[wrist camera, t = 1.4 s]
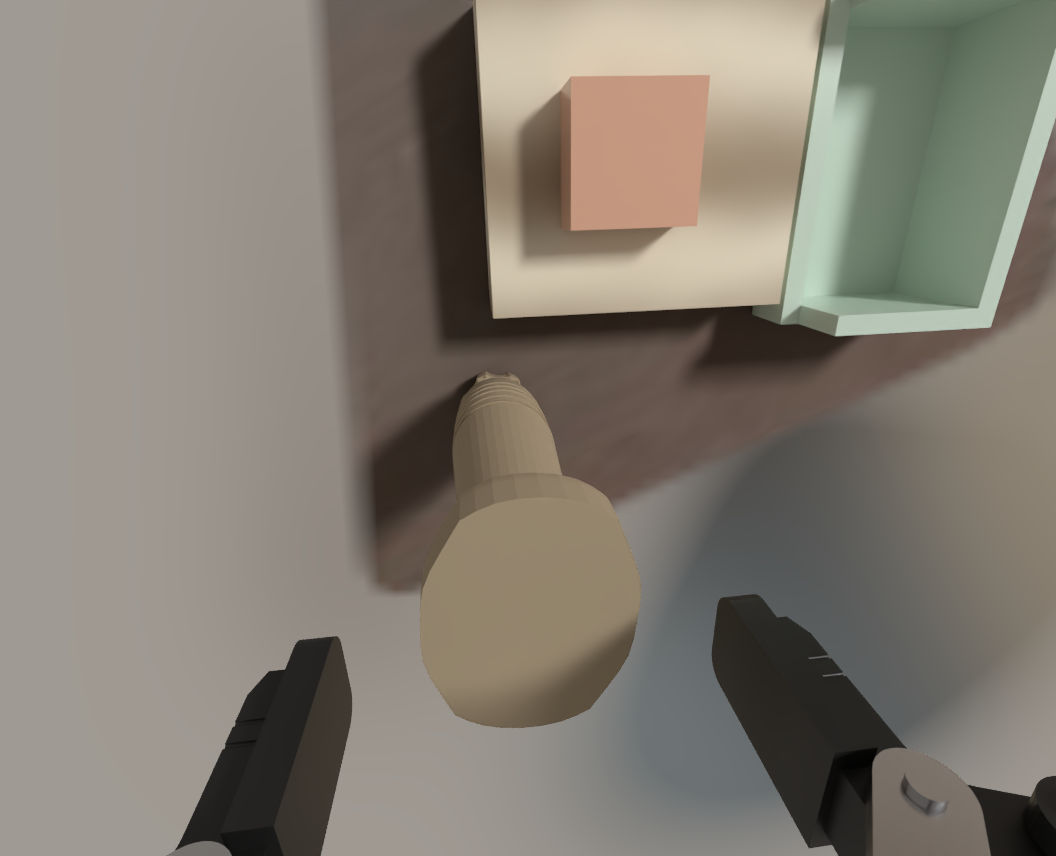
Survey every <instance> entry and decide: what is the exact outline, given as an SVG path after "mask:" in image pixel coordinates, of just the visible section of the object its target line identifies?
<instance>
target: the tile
mask: <svg viewBox="0 0 1056 856" xmlns="http://www.w3.org/2000/svg"><path fill="white" fill-rule="evenodd" d="M709 82H710V75H662V76H571V77H570V78H569V80H568V81H567V82H566V83H565V85H564V86H563V87H562V89H561V90H560V133H561V229H564V230H569V231H578V230H605V229H632V228H659V227H687V226H697V219H698V208H699V196H700V185H701V173H702V162H703V150H704V139H705V127H706V116H707V105H708V93H709Z"/></svg>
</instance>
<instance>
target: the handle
mask: <svg viewBox="0 0 1056 856" xmlns="http://www.w3.org/2000/svg"><path fill="white" fill-rule="evenodd" d="M452 455H453V467H454V479H455V491H456V503H455V504H454V506H453V507H452V509H451V511H450V512H449V514H448V516H447V517H446V519H445V521H444V522H443V524H442V526H441V528H440V530H439V532H438V534H437V536H436V538H435V540H434V542H433V544H432V546H431V549H430V551H429V553H428V555H427V557H426V560H425V563H424V570H423V577H422V586H421V605H420V639H421V640H420V642H421V651H422V658H423V663H424V665H425V667H426V670H427V672H428V674H429V676H430V678H431V680H432V681H433V683H434V684H435V686H436V688H437V689H438V691H439V692H440V694H441V695H442V697H443V698H444V699H445V701H446V703H447V704H448V705H449V707H450V708H451V710H452V711H453V713H454V714H455V715H456V716H459V717H461V718H463V719H465V720H468V721H471V722H474V723H477V724H481V725H485V726H493V727H501V728H524V727H532V726H533V727H534V726H543V725H547V724H552V723H556V722H560V721H563V720H566V719H569V718H571V717H574V716H576V715H578V714H580V713H582V712H584V711H586V710H588V709H590V708H591V707H592V705H593V704H594V703H595V701H596V700H597V699H598V698H599V697H600V695H601V694H602V693H603V691H604V690H605V689H606V688H607V686H608V685H609V684H610V682H611V681H612V680H613V678H614V677H615V676H616V674H617V673H618V672H619V670H620V669H621V667H622V665H623V664H624V662H625V660H626V659H627V657H628V655H629V652H630V649H631V646H632V643H633V639H634V634H635V629H636V624H637V618H638V613H639V607H640V598H641V583H640V578H639V573H638V568H637V566H636V563H635V560H634V557H633V555H632V552H631V549H630V547H629V544H628V542H627V539H626V537H625V534H624V532H623V529H622V527H621V524H620V522H619V519H618V517H617V515H616V513H615V511H614V509H613V507H612V506H611V504H610V502H609V500H608V498H607V497H606V496H605V495H604V494H602V493H601V492H600V491H598V490H597V489H595V488H594V487H592V486H590V485H588V484H586V483H584V482H582V481H580V480H578V479H575V478H571V477H566V476H562V474H561V470H560V465H559V461H558V457H557V453H556V448H555V444H554V440H553V436H552V433H551V431H550V428H549V426H548V423H547V421H546V418H545V416H544V414H543V412H542V411H541V409H540V407H539V405H538V404H537V402H536V400H535V399H534V398H533V396H532V395H531V394H530V393H529V392H528V391H527V390H526V389H525V388H524V387H523V386H522V385H520V381H519V379H518V377H516V376H515V375H513V374H511V373H509V372H507V373H506V374H502V375H495V374H490V373H488V372H483V373H481V374H479V375H478V376H477V379H476V382H475V384H474V386H473V387H472V388H471V389H470V390H469V391H468V392H467V394H465V395H464V396H463V397H462V399H461V403H460V407H459V410H458V413H457V418H456V422H455V427H454V437H453V449H452Z"/></svg>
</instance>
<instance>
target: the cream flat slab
mask: <svg viewBox="0 0 1056 856" xmlns="http://www.w3.org/2000/svg"><path fill="white" fill-rule="evenodd" d="M825 2H826V0H473V17H474V35H475V52H476V70H477V87H478V104H479V122H480V139H481V157H482V174H483V192H484V209H485V226H486V244H487V261H488V279H489V296H490V308H491V312H492V315H493V319H497V318H516V317H536V316H555V315H575V314H594V313H614V312H633V311H652V310H672V309H691V308H711V307H730V306H750V305H769V304H780V297H781V291H782V284H783V278H784V271H785V265H786V258H787V251H788V245H789V238H790V232H791V225H792V219H793V212H794V205H795V199H796V192H797V186H798V179H799V173H800V166H801V160H802V153H803V146H804V140H805V133H806V127H807V120H808V114H809V107H810V100H811V94H812V87H813V81H814V74H815V68H816V61H817V54H818V48H819V41H820V35H821V28H822V22H823V15H824V8H825ZM662 75H710V82H709V93H708V105H707V116H706V127H705V139H704V150H703V162H702V173H701V185H700V196H699V208H698V219H697V226H687V227H659V228H632V229H605V230H578V231H569V230H564V229H561V133H560V90H561V89H562V87H563V86H564V85H565V83H566V82H567V81H568V80H569V78H570V77H571V76H662Z"/></svg>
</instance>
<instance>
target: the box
mask: <svg viewBox="0 0 1056 856" xmlns="http://www.w3.org/2000/svg"><path fill="white" fill-rule="evenodd" d="M1055 118H1056V0H826V2H825V8H824V15H823V22H822V28H821V35H820V41H819V48H818V54H817V61H816V68H815V74H814V81H813V87H812V94H811V100H810V107H809V114H808V120H807V127H806V133H805V140H804V146H803V153H802V160H801V166H800V173H799V179H798V186H797V192H796V199H795V205H794V212H793V219H792V225H791V232H790V238H789V245H788V251H787V258H786V265H785V271H784V278H783V284H782V291H781V297H780V304H769V305H753V309H752V315H754V316H757V317H760V318H763V319H766V320H768V321H771V322H774V323H777V324H780V325H786V324H800V325H803V326H806V327H809V328H812V329H815V330H818V331H821V332H824V333H827V334H830V335H833V336H849V335H866V334H884V333H901V332H918V331H936V330H953V329H970V328H988V327H991V324H992V321H993V318H994V315H995V311H996V308H997V305H998V302H999V298H1000V295H1001V292H1002V289H1003V286H1004V282H1005V279H1006V276H1007V273H1008V269H1009V266H1010V263H1011V260H1012V257H1013V253H1014V250H1015V247H1016V244H1017V240H1018V237H1019V234H1020V231H1021V228H1022V224H1023V221H1024V218H1025V215H1026V211H1027V208H1028V205H1029V202H1030V199H1031V195H1032V192H1033V189H1034V186H1035V182H1036V179H1037V176H1038V173H1039V170H1040V166H1041V163H1042V160H1043V157H1044V153H1045V150H1046V147H1047V144H1048V141H1049V137H1050V134H1051V131H1052V128H1053V124H1054V121H1055Z"/></svg>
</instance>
